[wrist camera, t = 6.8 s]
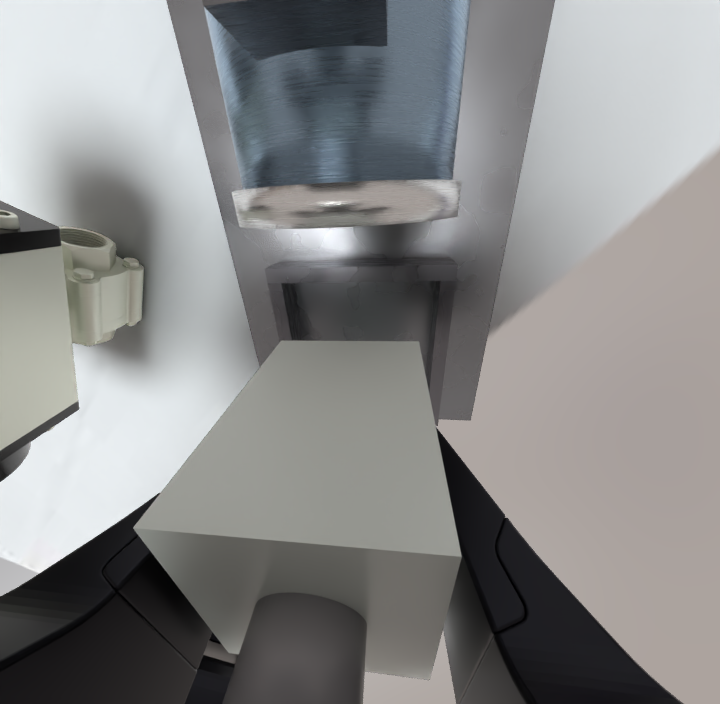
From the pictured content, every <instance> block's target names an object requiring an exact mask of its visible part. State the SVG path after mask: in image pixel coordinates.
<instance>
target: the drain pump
mask: <svg viewBox="0 0 720 704" xmlns="http://www.w3.org/2000/svg"><path fill="white" fill-rule="evenodd" d="M133 529H134V530H135V531H136V533H137V534H138V535H139V537H140V538H141V539H142V541H143V542H144V543H145V544H146V546H147V547H148V548H149V550H150V551H151V552H152V554H153V555H154V556H155V558H156V559H157V560H158V561H159V563H160V564H161V565H162V567H163V568H164V569H165V571H166V572H167V573H168V574H169V576H170V577H171V578H172V580H173V581H174V582H175V584H176V585H177V586H178V588H179V589H180V590H181V591H182V593H183V594H184V595H185V597H186V598H187V599H188V601H189V602H190V603H191V605H192V606H193V607H194V608H195V610H196V611H197V612H198V614H199V615H200V616H201V618H202V619H203V620H204V621H205V623H206V624H207V625H208V627H209V628H210V629H211V631H212V632H213V633H214V635H215V636H216V637H217V638H218V640H219V641H220V642H221V644H222V645H223V646H224V648H225V649H226V650H227V652H228V653H233V654H239V655H238V658H237V661H236V664H235V667H234V670H233V673H232V676H231V679H230V682H229V685H228V688H227V691H226V694H225V697H224V700H223V703H222V704H363V689H364V672H373V673H380V674H387V675H395V676H402V677H409V678H417V679H424V680H430V677H431V673H432V669H433V666H434V662H435V658H436V654H437V650H438V646H439V642H440V639H441V635H442V631H443V627H444V623H445V619H446V616H447V612H448V608H449V604H450V600H451V596H452V592H453V589H454V585H455V581H456V577H457V573H458V569H459V565H460V562H461V558H462V556H461V551H460V546H459V541H458V535H457V530H456V525H455V520H454V515H453V510H452V505H451V500H450V495H449V490H448V485H447V480H446V475H445V470H444V465H443V460H442V455H441V450H440V445H439V440H438V435H437V430H436V425H435V420H434V415H433V410H432V405H431V400H430V395H429V390H428V385H427V380H426V375H425V370H424V365H423V360H422V355H421V350H420V345H419V341H280V343H279V344H278V345H277V346H276V348H275V349H274V350H273V352H272V353H271V354H270V355H269V357H268V358H267V359H266V360H265V362H264V363H263V364H262V365H261V367H260V368H259V369H258V371H257V372H256V373H255V374H254V376H253V377H252V378H251V379H250V381H249V382H248V383H247V384H246V386H245V387H244V388H243V389H242V391H241V392H240V393H239V395H238V396H237V397H236V398H235V400H234V401H233V402H232V403H231V405H230V406H229V407H228V408H227V410H226V411H225V412H224V413H223V415H222V416H221V417H220V419H219V420H218V421H217V422H216V424H215V425H214V426H213V427H212V429H211V430H210V431H209V432H208V434H207V435H206V436H205V437H204V439H203V440H202V441H201V443H200V444H199V445H198V446H197V448H196V449H195V450H194V451H193V453H192V454H191V455H190V456H189V458H188V459H187V460H186V462H185V463H184V464H183V465H182V467H181V468H180V469H179V470H178V472H177V473H176V474H175V475H174V477H173V478H172V479H171V480H170V482H169V483H168V484H167V486H166V487H165V488H164V489H163V491H162V492H161V493H160V494H159V496H158V497H157V498H156V499H155V501H154V502H153V503H152V504H151V506H150V507H149V508H148V510H147V511H146V512H145V513H144V515H143V516H142V517H141V518H140V520H139V521H138V522H137V523H136V525H135V526H134V527H133Z"/></svg>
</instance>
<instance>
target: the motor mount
mask: <svg viewBox="0 0 720 704" xmlns="http://www.w3.org/2000/svg"><path fill="white" fill-rule="evenodd" d="M554 3H555V0H167V4H168V8H169V12H170V16H171V20H172V24H173V28H174V32H175V36H176V39H177V43H178V47H179V51H180V55H181V59H182V63H183V67H184V71H185V75H186V79H187V83H188V87H189V90H190V94H191V98H192V102H193V106H194V110H195V114H196V118H197V122H198V126H199V130H200V134H201V137H202V141H203V145H204V149H205V153H206V157H207V161H208V165H209V169H210V173H211V177H212V181H213V185H214V188H215V192H216V196H217V200H218V204H219V208H220V212H221V216H222V220H223V224H224V228H225V232H226V236H227V239H228V243H229V247H230V251H231V255H232V259H233V263H234V267H235V271H236V275H237V279H238V283H239V287H240V290H241V294H242V298H243V302H244V306H245V310H246V314H247V318H248V322H249V326H250V330H251V334H252V337H253V341H254V345H255V349H256V353H257V357H258V361H259V365H260V367H261V365H262V364H263V363H264V362H265V360H266V359H267V358H268V357H269V355H270V354H271V353H272V352H273V350H274V349H275V348H276V346H277V345H278V344H279V343H280V341H419V345H420V350H421V355H422V360H423V365H424V370H425V375H426V380H427V385H428V390H429V395H430V400H431V405H432V410H433V415H434V420H435V425H436V426H438V419H450V420H471V415H472V411H473V405H474V401H475V396H476V390H477V386H478V381H479V376H480V371H481V365H482V361H483V355H484V351H485V346H486V341H487V336H488V331H489V326H490V321H491V316H492V311H493V306H494V301H495V296H496V291H497V286H498V281H499V276H500V271H501V266H502V261H503V256H504V251H505V246H506V241H507V236H508V231H509V226H510V221H511V216H512V212H513V207H514V202H515V197H516V192H517V187H518V182H519V177H520V172H521V167H522V162H523V157H524V152H525V147H526V142H527V137H528V132H529V127H530V122H531V117H532V112H533V107H534V102H535V97H536V92H537V87H538V82H539V77H540V72H541V67H542V62H543V57H544V52H545V47H546V42H547V37H548V32H549V27H550V22H551V17H552V12H553V8H554Z"/></svg>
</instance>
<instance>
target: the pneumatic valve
mask: <svg viewBox="0 0 720 704" xmlns="http://www.w3.org/2000/svg"><path fill="white" fill-rule="evenodd" d="M143 276H144V267H143V266H142V265H140V264H139V261H138V260H137V259H134V258H124V260H123V259H121V258H120V257H118V256H116V244H115V243H114V242H113V241H112V240H111V239H109V238H108V237H106V236H104V235H102V234H100V233H97V232H94V231H90V230H86V229H82V228H76V227H66V226H55V225H53V224H51V223H49V222H46V221H44V220H42V219H40V218H37V217H35V216H33V215H31V214H29V213H26V212H24V211H22V210H20V209H17V208H15V207H13V206H11V205H8V204H6V203H4V202H2V201H0V482H1V481H2V480H4V479H5V478H6V477H8V476H9V475H10V474H11V473H13V472H14V471H15V470H16V469H17V468H18V467H19V466H20V465H21V463H22V462H23V460H24V459H25V458H26V456H27V454H28V452H29V449H30V445H31V441H32V440H34V439H35V438H37V437H38V436H40V435H41V434H43V433H44V432H46V431H49V430H51V429H53V428H54V426H55V425H56V424H58V423H59V422H61V421H62V420H64V419H65V418H67V417H68V416H70V415H71V414H73V413H74V412H76V411H77V410H79V402H78V393H77V384H76V374H75V365H74V356H73V346H72V343H75V344H82V345H85V346H92V345H96V344H100V343H104V342H106V341H109V340H111V339H112V338H113V337H114V334H115V331H116V329H118V328H120V327H121V326H123V325H124V324H125V325H127V326H133V325H136V324H137V322H138V321H140V320H141V319H142V299H143Z"/></svg>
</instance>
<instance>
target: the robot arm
mask: <svg viewBox="0 0 720 704" xmlns="http://www.w3.org/2000/svg"><path fill="white" fill-rule="evenodd" d="M436 430H437V435H438V440H439V445H440V450H441V455H442V460H443V465H444V470H445V475H446V480H447V485H448V490H449V495H450V500H451V505H452V510H453V515H454V520H455V525H456V530H457V535H458V541H459V546H460V551H461V556H462V558H461V562H460V565H459V569H458V573H457V577H456V581H455V585H454V589H453V592H452V596H451V600H450V604H449V608H448V612H447V616H446V619H445V623H444V627H443V631H444V636H445V642H446V648H447V653H448V658H449V664H450V670H451V676H452V682H453V687H454V693H455V698H456V704H683V703H682V702H681V701H679V700H678V699H677V698H676V697H674V696H673V695H672V694H671V693H670V692H668V691H667V690H666V689H665V688H663V687H662V686H661V685H660V684H659V683H658V682H657V681H655V680H654V679H653V678H652V677H651V676H650V675H649V674H648V673H647V672H646V671H645V670H644V669H643V668H641V666H639V665H638V664H637V663H636V662H635V661H634V660H633V659H632V658H631V656H630V655H629V654H628V653H627V652H626V651H625V650H624V649H623V648H622V647H621V646H620V645H619V644H618V643H617V642H616V641H615V639H614V638H613V637H612V636H611V635H610V634H609V633H608V632H607V631H606V630H605V629H604V628H603V627H602V625H601V624H600V623H599V622H598V621H597V620H596V619H595V618H594V617H593V616H592V615H591V613H590V612H589V611H588V610H587V609H586V608H585V607H584V606H583V605H582V604H581V603H580V602H579V600H578V599H577V598H576V597H575V596H574V595H573V594H572V593H571V592H570V591H569V590H568V589H567V587H565V585H564V584H563V583H562V582H561V581H560V580H559V579H558V578H557V577H556V575H554V573H553V572H552V571H551V570H550V569H549V568H548V566H547V565H546V564H545V563H544V562H543V561H542V560H541V559H540V558H539V556H538V555H537V554H536V553H535V552H534V550H533V549H532V548H531V547H530V546H529V544H528V543H527V542H526V541H525V540H524V538H523V537H522V536H521V535H520V533H519V532H518V531H517V530H516V528H515V527H514V526H513V525H512V523H511V522H510V521H509V519H508V518H505V514H504V513H503V512H502V511H501V509H500V508H499V507H498V505H497V504H496V503H495V502H494V500H493V499H492V498H491V497H490V495H489V494H488V493H487V491H486V490H485V489H484V488H483V486H482V485H481V484H480V482H479V481H478V480H477V479H476V478H475V476H474V475H473V474H472V472H471V471H470V470H469V469H468V467H467V466H466V465H465V463H464V462H463V461H462V460H461V458H460V457H459V456H458V454H457V453H456V452H455V451H454V449H453V448H452V447H451V446H450V444H449V443H448V442H447V440H446V439H445V438H444V437H443V435H442V434H441V433H440V432H439V431H438V429H437V428H436ZM159 494H160V493H158V494H157V495H156V496H154V497H153V498H152V499H150V500H149V501H147V502H146V503H145V504H143V505H142V506H140V507H139V508H138V509H136V510H135V511H133V512H132V513H131V514H129V515H128V516H126V517H125V518H123V519H122V520H121V521H119V522H118V523H116V524H115V525H113V526H112V527H110V528H109V529H107V530H106V531H104V532H103V533H101V534H100V535H98V536H97V537H95V538H93V539H92V540H90V541H89V542H87V543H86V544H84V545H83V546H81V547H80V548H78V549H76V550H75V551H73V552H72V553H70V554H69V555H67V556H66V557H64V558H63V559H61V560H60V561H58V562H56V563H55V564H53V565H52V566H50V567H49V568H47V569H46V570H44V571H43V572H41V573H40V574H38V575H36V576H35V577H33V578H32V579H30V580H29V581H27V582H25V583H24V584H22V585H20V586H19V587H17V588H16V589H14V590H12V591H10V592H9V593H6V594H4V595H3V596H0V704H222V703H223V700H224V697H225V694H226V691H227V688H228V685H229V682H230V679H231V676H232V673H233V670H234V667H235V664H236V661H237V658H238V655H239V654H233V653H228V652H227V650H226V649H225V648H224V646H223V645H222V644H221V642H220V641H219V640H218V638H217V637H216V636H215V635H214V633H213V632H212V631H211V629H210V628H209V627H208V625H207V624H206V623H205V621H204V620H203V619H202V618H201V616H200V615H199V614H198V612H197V611H196V610H195V608H194V607H193V606H192V605H191V603H190V602H189V601H188V599H187V598H186V597H185V595H184V594H183V593H182V591H181V590H180V589H179V588H178V586H177V585H176V584H175V582H174V581H173V580H172V578H171V577H170V576H169V574H168V573H167V572H166V571H165V569H164V568H163V567H162V565H161V564H160V563H159V561H158V560H157V559H156V558H155V556H154V555H153V554H152V552H151V551H150V550H149V548H148V547H147V546H146V544H145V543H144V542H143V541H142V539H141V538H140V537H139V535H138V534H137V533H136V531H135V530H134V529H133V527H134V526H135V525H136V523H137V522H138V521H139V520H140V518H141V517H142V516H143V515H144V513H145V512H146V511H147V510H148V508H149V507H150V506H151V504H152V503H153V502H154V501H155V499H156V498H157V497H158V496H159Z"/></svg>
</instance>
